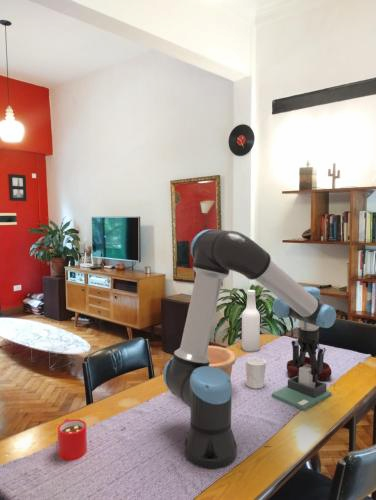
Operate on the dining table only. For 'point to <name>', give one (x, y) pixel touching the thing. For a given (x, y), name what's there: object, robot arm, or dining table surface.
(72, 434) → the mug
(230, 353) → the pottery
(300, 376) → the plug
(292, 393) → the board
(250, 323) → the alcohol
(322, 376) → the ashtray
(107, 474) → the dining table surface
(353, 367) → the dining table surface
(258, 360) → the white cup
